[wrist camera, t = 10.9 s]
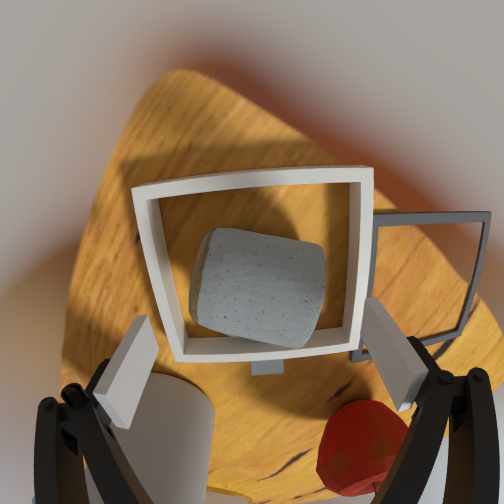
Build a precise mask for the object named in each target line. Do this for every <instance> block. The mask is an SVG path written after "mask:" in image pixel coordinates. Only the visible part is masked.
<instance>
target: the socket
mask: <svg viewBox="0 0 504 504" xmlns="http://www.w3.org/2000/svg"><path fill="white" fill-rule="evenodd" d="M337 182H349V248H348V267H347V282H346V295H345V305H344V315H343V324H342V327H337V328H329V329H321V330H314V331H313V333H312V334H311V337H310V338H309V340H308V341H307V342H306V344H305V345H304V346H302V347H301V348H289V347H284V346H279V345H275V344H270V343H265V342H261V341H256V340H244V339H239V338H235V337H210V338H188V334H187V331H186V327H185V323H184V319H183V316H182V312H181V308H180V304H179V300H178V296H177V291H176V287H175V283H174V279H173V274H172V270H171V265H170V260H169V256H168V251H167V246H166V241H165V235H164V230H163V225H162V219H161V213H160V207H159V201H158V198H162V197H169V196H177V195H184V194H192V193H201V192H209V191H219V190H228V189H239V188H250V187H262V186H276V185H292V184H311V183H337ZM131 190H132V196H133V202H134V208H135V213H136V218H137V224H138V229H139V233H140V238H141V243H142V247H143V252H144V256H145V260H146V264H147V268H148V272H149V276H150V280H151V284H152V288H153V291H154V295H155V298H156V302H157V305H158V309H159V312H160V316H161V319H162V322H163V325H164V328H165V332H166V335H167V338H168V341H169V344H170V347H171V350H172V353H173V355H174V358H175V361H176V362H243V361H250V364H251V372H252V376H253V375H269V374H282V373H284V359H287V358H297V357H307V356H315V355H323V354H331V353H338V352H344V351H351V350H357V349H358V346H359V340H360V330H361V324H362V317H363V310H364V302H365V298H366V295H367V287H368V278H369V268H370V257H371V244H372V227H373V190H374V180H373V168H372V167H367V166H362V165H324V166H297V167H279V168H264V169H252V170H241V171H230V172H221V173H212V174H204V175H196V176H189V177H181V178H175V179H168V180H162V181H156V182H150V183H144V184H141V185H139V186H136V187H133V188H131Z"/></svg>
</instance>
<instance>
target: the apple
mask: <svg viewBox="0 0 504 504" xmlns="http://www.w3.org/2000/svg"><path fill="white" fill-rule="evenodd" d="M407 431H408V427H407V425H406V424H405V423H404V421H403V420H402V419H401V418H400V417H399V416H398V415H397V414H395V413H394V412H393V411H392V410H391V409H389V408H388V407H387V406H386V405H385V404H383V403H382V402H378V401H375V400H356V401H353V402H350V403H348V404H346V405H344V406H342V407H341V408H339V409H338V410H337V411H336V412H335V413H334V414H333V415H332V417H331V418H330V419H329V421H328V422H327V423H326V426H325V430H324V433H323V436H322V439H321V443H320V446H319V451H318V459H317V467H316V472H317V473H318V475H319V477H320V479H321V480H322V482H323V484H324V485H325V487H326V489H328V490H330V491H333V492H335V493H337V494H339V495H342V496H348V497H350V496H351V497H353V496H359V495H363V494H368V493H372V492H375V495H376V493H377V491H378V490H379V488H380V487H381V485H382V483H383V481H384V479H385V478H386V476H387V474H388V472H389V470H390V468H391V466H392V464H393V462H394V460H395V458H396V456H397V454H398V452H399V449H400V447H401V445H402V443H403V440H404V438H405V436H406V433H407Z"/></svg>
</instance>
